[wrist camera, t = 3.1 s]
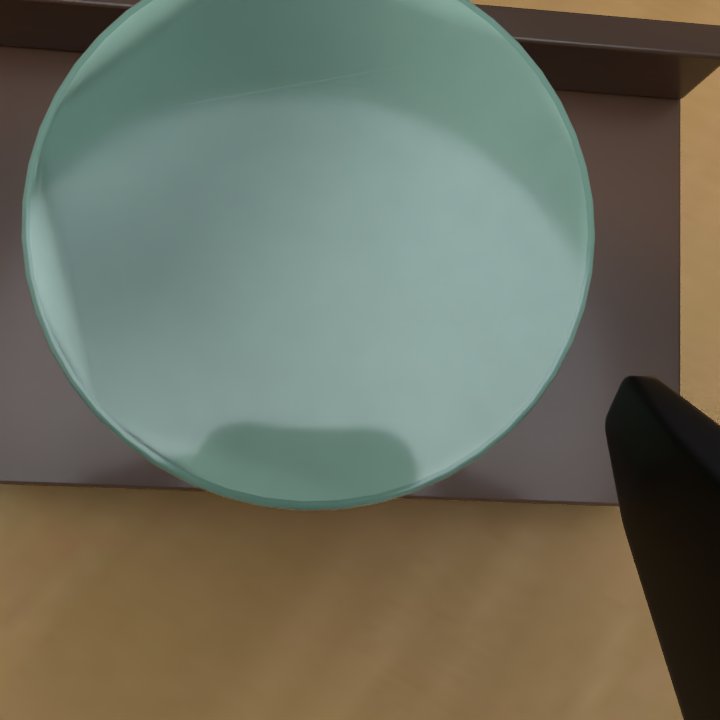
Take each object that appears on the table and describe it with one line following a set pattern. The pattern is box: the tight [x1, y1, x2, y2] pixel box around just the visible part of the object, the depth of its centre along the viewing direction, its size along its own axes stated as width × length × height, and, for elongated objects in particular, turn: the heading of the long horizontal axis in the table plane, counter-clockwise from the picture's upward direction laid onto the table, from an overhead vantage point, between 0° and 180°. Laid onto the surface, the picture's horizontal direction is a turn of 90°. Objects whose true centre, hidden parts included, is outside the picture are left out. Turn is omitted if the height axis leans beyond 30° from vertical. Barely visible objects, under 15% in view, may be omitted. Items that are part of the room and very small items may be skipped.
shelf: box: [0, 0, 720, 506], centre depth 17 cm, size 11×18×5 cm, turn 88°
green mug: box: [22, 0, 595, 511], centre depth 11 cm, size 8×6×9 cm
